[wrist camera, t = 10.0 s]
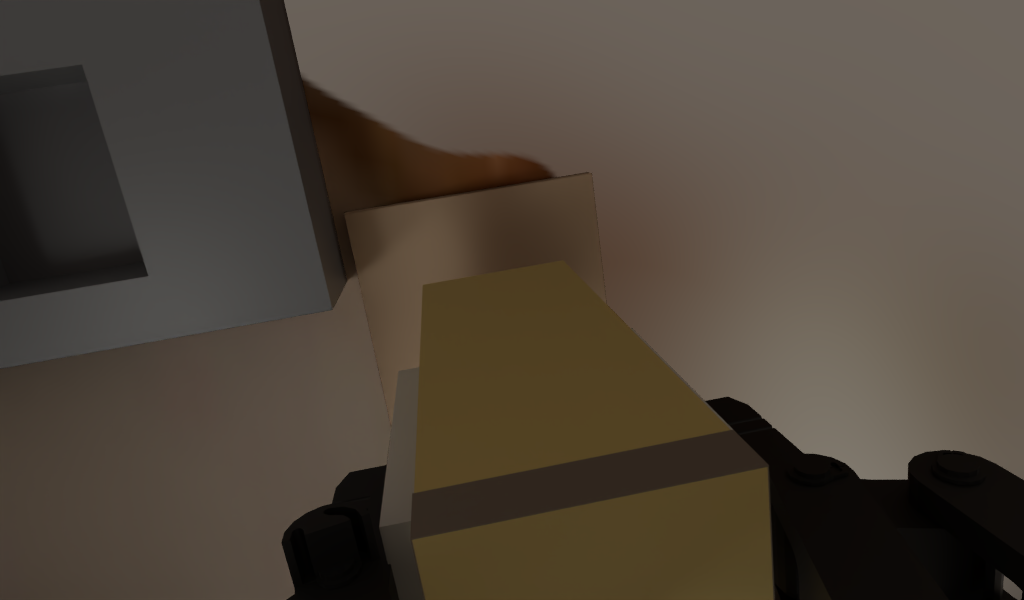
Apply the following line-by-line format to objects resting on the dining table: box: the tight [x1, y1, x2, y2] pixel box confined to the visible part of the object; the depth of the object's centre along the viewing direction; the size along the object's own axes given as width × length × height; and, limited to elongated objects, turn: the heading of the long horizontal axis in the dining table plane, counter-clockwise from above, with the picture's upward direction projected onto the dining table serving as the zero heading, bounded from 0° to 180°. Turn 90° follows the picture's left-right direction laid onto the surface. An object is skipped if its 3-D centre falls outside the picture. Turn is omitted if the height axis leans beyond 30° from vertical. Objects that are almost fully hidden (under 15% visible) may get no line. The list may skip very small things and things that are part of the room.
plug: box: [410, 260, 775, 600], centre depth 15 cm, size 4×4×13 cm
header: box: [0, 0, 347, 369], centre depth 20 cm, size 16×10×4 cm, turn 99°
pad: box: [344, 172, 607, 427], centre depth 25 cm, size 9×9×1 cm
